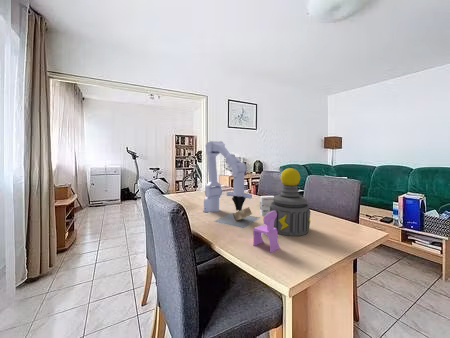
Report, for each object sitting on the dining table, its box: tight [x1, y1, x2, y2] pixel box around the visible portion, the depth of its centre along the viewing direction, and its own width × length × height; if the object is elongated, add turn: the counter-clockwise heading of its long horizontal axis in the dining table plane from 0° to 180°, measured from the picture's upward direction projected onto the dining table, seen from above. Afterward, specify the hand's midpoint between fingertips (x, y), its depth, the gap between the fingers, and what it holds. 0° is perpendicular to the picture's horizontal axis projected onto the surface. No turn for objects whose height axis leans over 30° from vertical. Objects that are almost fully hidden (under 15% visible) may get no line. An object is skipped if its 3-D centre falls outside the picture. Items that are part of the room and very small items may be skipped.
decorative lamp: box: [270, 167, 311, 237], centre depth 103 cm, size 19×19×30 cm
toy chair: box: [252, 211, 280, 253], centre depth 85 cm, size 8×9×15 cm
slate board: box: [213, 212, 261, 229], centre depth 116 cm, size 18×20×1 cm
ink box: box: [259, 195, 275, 217], centre depth 125 cm, size 9×5×12 cm, turn 100°
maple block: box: [232, 206, 253, 221], centre depth 114 cm, size 4×6×8 cm
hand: (238, 210), depth 115 cm, fingers closed
